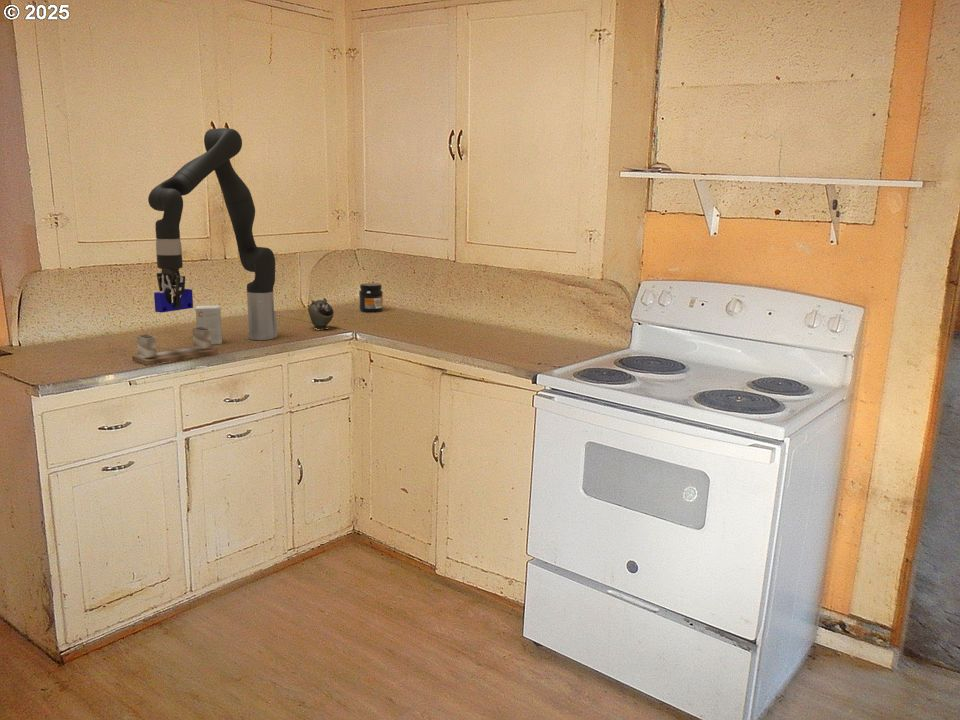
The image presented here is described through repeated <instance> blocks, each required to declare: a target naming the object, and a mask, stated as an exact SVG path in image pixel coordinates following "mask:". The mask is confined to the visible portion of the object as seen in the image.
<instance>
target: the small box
mask: <svg viewBox="0 0 960 720" xmlns="http://www.w3.org/2000/svg"><path fill="white" fill-rule="evenodd" d="M221 313H222V312H221V305H216V304H215V305H197V306H195V321H196V328H197V327H203V328H207V329H209V330H210V331H211V345H223V332H222V331H223V330H222V317H221V316H222V314H221Z"/></svg>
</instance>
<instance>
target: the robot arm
mask: <svg viewBox="0 0 960 720" xmlns="http://www.w3.org/2000/svg"><path fill="white" fill-rule="evenodd" d="M203 143H204V144H203V145H204V148H205V152H204V153H203V154H201V155H199V156H197V157H195V158H193V159H192V160H190V161H188V162H186V163H185V164H184V165H183V166H182V167H180V169H178V170H177V171H176V172H175V173H174V174H173V175H172V176H171V177H170V178H168V179H166V180H164V181H162V182H161V183H159V184H157V186H155V187H154V188H153V189H151V191H150V193H149V195H148V198H147V201H148V205H149V206H150V207H151V208H152V209H153V210H154V211H157V212H163V214H162V218H161V219H157V220H156V222H155V225H154V226H155V227H154V228H155V238H156V239H155V240H156V241H155V252H156V267H157V268H158V269H160V270H161V272H157V273H156V279H157V284H158V290H159V292H161V293H164V295H165V298H166V300H167V301H168V303H170V304H171V303H173V307H174V308H179V307H181V299H180V297H181V295H182V294H184V290H185V289H186V288H185V287H186V276H185V275H181V274H180V271H179V270H180V269H182V268H183V267H184V265H183V250H182V242H181V232H180V224H181V219H182V214H183V210H184V209H183V208H184V198H183V196H187V195H189V194H191V192H192V191H194V190H195V188H196V187H197V186H198V185H199V184H200V183H201V182H203V181H204V179H206V178H207V177H208V176H209V175H210V174H211V173H212V172H214V173H215V175H216V178H217V181H218V184H219V187H220V190H221V193H222V196H223V200H224V203H225V207H226V210H227V214H228V216H229V219H230V222H231V225H232V229H233V233H234V237H235V241H236V246H237V250H238V251H237V252H238V255H239V260H240V263H241V265H242V267H243V269H244V270H246V271H247V272H250V273H254V280H253V281H250V282H248V283H247V284H246V297H247V298H246V300H247V320H248V321H247V324H248V339H249V340H252V341H253V340H254V341H268V340H273V339H275V338H278V321H277V319H278V318H277V312H276V311H275V302H274V286H275V284H276V283H275V282H276V256H275V254H274V252H273V250H272V249H270V248H268V247H264V246H263V247H262V246H257V244H256V241H255V237H254V233H253V226H254V222H255V216H256V207H255V202H254V200H253V196H252V193H251V191H250V189H249V187H248V186H247V184H246V183H245V182H244V181H243V180H242V178H241V177H240V176H239V175H238V173H237V172H236V170H235V169H234V168H233V165H232V163H231V159H232V158H234V157H235V156H236V155H239V153H240V152H241V150H242V148H243V147H242V146H243V139H242V136H241V134H240V133H239V132H238V130H236V129H234V128H229V127H226V128H224V127H221V128H218V127H217V128H210V129H208V130H207V131H206V132H205V133H204V136H203Z"/></svg>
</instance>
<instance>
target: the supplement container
mask: <svg viewBox="0 0 960 720" xmlns="http://www.w3.org/2000/svg"><path fill="white" fill-rule="evenodd" d="M382 286H383V285H382V284H381V283H375V282H367V283H361V284H359V287H360V290H359V291H358V292H359V307H358V308H359V310H360V312H364V313H380V312H382V311H383V309H384V308H383V305H384V303H383V301H384V299H383V295H384V293H383V290H382V288H383V287H382ZM379 311H380V312H379Z"/></svg>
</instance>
